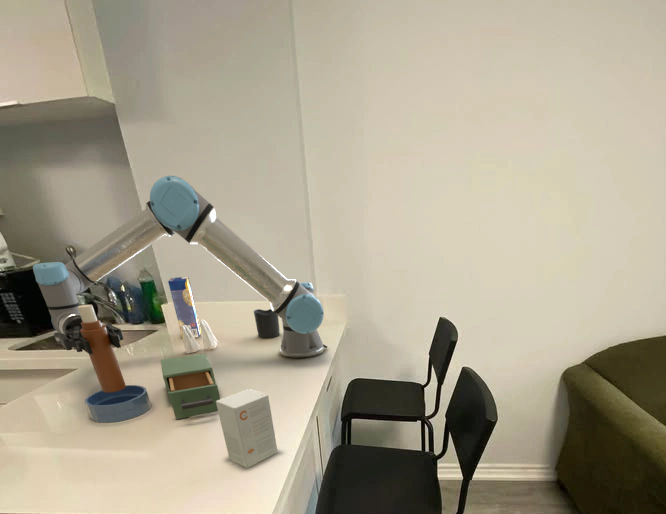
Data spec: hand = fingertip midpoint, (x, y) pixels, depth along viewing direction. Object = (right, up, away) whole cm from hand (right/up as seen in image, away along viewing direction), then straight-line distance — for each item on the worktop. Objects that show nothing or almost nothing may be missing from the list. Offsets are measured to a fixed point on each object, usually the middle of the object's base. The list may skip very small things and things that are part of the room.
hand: (103, 344), depth 98 cm
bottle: (-3, -8, +10) cm, 13 cm away
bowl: (-3, -14, +13) cm, 19 cm away
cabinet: (+11, -7, +24) cm, 27 cm away
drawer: (+17, -13, +12) cm, 25 cm away
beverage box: (-13, +28, +84) cm, 89 cm away
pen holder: (+22, +25, +77) cm, 84 cm away
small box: (+37, -26, -9) cm, 46 cm away
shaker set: (0, +15, +62) cm, 64 cm away
